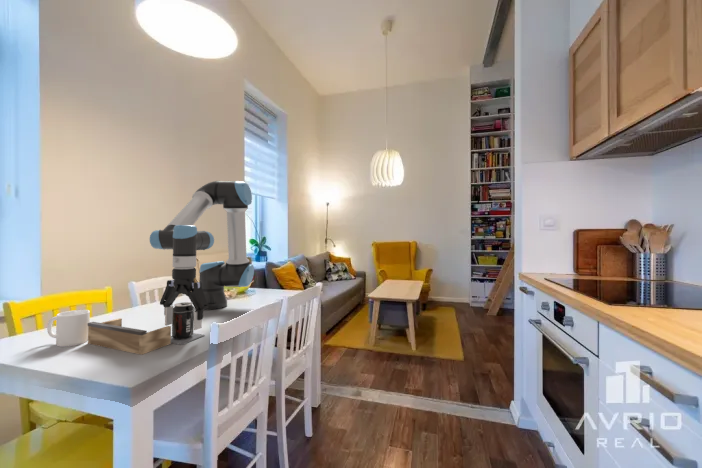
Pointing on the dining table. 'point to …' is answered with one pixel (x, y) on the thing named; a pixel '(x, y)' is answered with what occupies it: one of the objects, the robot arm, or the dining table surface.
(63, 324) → the cup
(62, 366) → the dining table surface
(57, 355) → the dining table surface
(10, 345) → the dining table surface
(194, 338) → the mat
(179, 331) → the beverage can
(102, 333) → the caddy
